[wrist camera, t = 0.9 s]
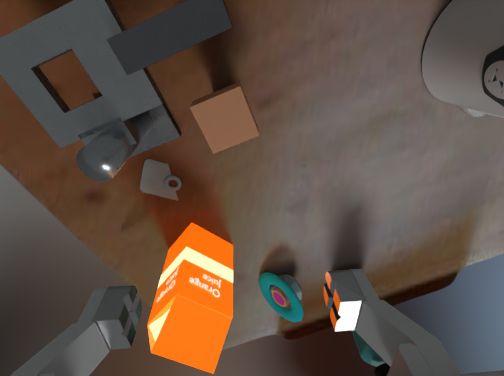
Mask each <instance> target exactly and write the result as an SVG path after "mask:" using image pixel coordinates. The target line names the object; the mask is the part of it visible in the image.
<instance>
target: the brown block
mask: <svg viewBox="0 0 504 376" xmlns="http://www.w3.org/2000/svg"><path fill="white" fill-rule="evenodd" d="M190 109H191V111H192V113H193V115H194V117H195V119H196V121H197V123H198V125H199V127H200V128H201V130H202V132H203V134H204V136H205V138H206V140H207V142H208V144H209V146H210V148H211V150H212V152H213V154H214V153H217V152H219V151H222V150H224V149H227V148H229V147H232V146H234V145H237V144H239V143H242V142H245V141H247V140H250V139H252V138H255V137H257V136H260V134H259V130H258V126H257V124H256V121H255V119H254V116H253V114H252V111H251V109H250V106H249V104H248V101H247V99H246V96H245V94H244V91H243V89H242V86H241V83H240V81H239V82H237V83H235V84H232V85H230V86H228V87H225V88H223V89H221V90H218V91H216V92H213V93H211V94H209V95H206V96H204V97H202V98H199V99H197V100H195V101H193V102H192V104H191V106H190Z"/></svg>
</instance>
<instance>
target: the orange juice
mask: <svg viewBox="0 0 504 376" xmlns="http://www.w3.org/2000/svg"><path fill="white" fill-rule="evenodd" d="M232 319H233V245H232V244H230V243H228V242H227V241H225V240H223V239H221V238H219V237H218V236H216V235H214V234H212V233H210V232H209V231H207V230H205V229H203V228H201V227H199V226H198V225H196V224H194V223H191V224H190V225H189V226H188V227H187V228H186V230H185V231H184V232H183V233H182V234H181V236H180V237H179V238H178V239H177V240H176V242H175V243H174V244H173V245H172V246H171V247H170V249H169V251H168V254H167V258H166V261H165V265H164V268H163V272H162V275H161V278H160V281H159V285H158V289H157V293H156V296H155V300H154V303H153V307H152V311H151V314H150V318H149V321H148V332H149V339H150V348H151V353H154V354H157V355H160V356H163V357H165V358H169V359H171V360H174V361H177V362H180V363H183V364H186V365H189V366H192V367H195V368H198V369H201V370H204V371H207V372H210V373H213V374H214V371H215V368H216V365H217V362H218V359H219V355H220V352H221V350H222V347H223V344H224V341H225V338H226V335H227V332H228V329H229V326H230V323H231V320H232Z"/></svg>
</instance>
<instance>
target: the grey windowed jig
mask: <svg viewBox="0 0 504 376" xmlns="http://www.w3.org/2000/svg"><path fill="white" fill-rule="evenodd" d="M232 27H233V25H232V22H231V20H230V17H229V14H228V11H227V9H226V6H225V3H224V1H223V0H187V1H185V2H183V3H181V4H178V5H176V6H174V7H172V8H170V9H168V10H166V11H164V12H162V13H160V14H158V15H156V16H154V17H152V18H150V19H148V20H146V21H143V22H141V23H139V24H137V25H135V26H133V27H131V28H129V29H127V30H126V29H125V27H124V25H123V24H122V22H121V20H120V18H119V16H118V15H117V13H116V11H115V9H114V7H113V5H112V4H111V2H110V0H73V1H71V2H69V3H67V4H65V5H63V6H61V7H59V8H58V9H56V10H54V11H52V12H50V13H48V14H46V15H44V16H42V17H40V18H38V19H36V20H34V21H32V22H31V23H29V24H27V25H25V26H23V27H21V28H19V29H17V30H15V31H13V32H11V33H9V34H7V35H6V36H4V37H2V38H0V75H1V76H2V77H3V78H4V79H5V81H6V82H7V83H8V84H9V86H10V87H11V88H12V89H13V91H14V92H15V93H16V94H17V95H18V97H19V98H20V99H21V100H22V102H23V103H24V104H25V105H26V107H27V108H28V109H29V110H30V111H31V113H32V114H33V115H34V116H35V118H36V119H37V120H38V121H39V122H40V124H41V125H42V126H43V127H44V129H45V130H46V131H47V132H48V134H49V135H50V136H51V137H52V138H53V140H54V141H55V142H56V143H57V145H58V146H59V147H60V148H62V147H65V146H67V145H69V144H72V143H74V142H76V141H78V140H81V141H82V142H83V143H84V144H85V147H84V148H83V149H81V150H80V151H79V153H78V155H77V164H78V167H79V168H80V170H81V171H82V172H83V173H84V174H85V175H86V176H88V177H89V178H91V179H94V180H97V181H107V180H110V179H112V178H113V177H114V176H115V175H116V174H117V173H118V171H119V170H120V169H121V167H122V166H123V165H124V163H125V162H126V161H127V160H128V158H129V157H132V156H135V155H137V154H140V153H142V152H144V151H147V150H149V149H152V148H154V147H157V146H159V145H161V144H164V143H166V142H169V141H171V140H174V139H176V138H179V137H180V136H181V133H180V131H179V129H178V127H177V125H176V124H175V122H174V120H173V118H172V116H171V115H170V113H169V111H168V109H167V107H166V106H165V104H164V102H165V100H164V98H163V97H162V95H161V93H160V91H159V89H158V87H157V86H156V84H155V82H154V80H153V78H152V76H151V75H150V73H149V71H148V69H147V66H150V65H152V64H154V63H156V62H158V61H160V60H163V59H165V58H167V57H169V56H171V55H173V54H176V53H178V52H180V51H182V50H184V49H187V48H189V47H191V46H193V45H195V44H197V43H200V42H202V41H204V40H206V39H208V38H211V37H213V36H215V35H217V34H219V33H221V32H224V31H226V30H228V29H230V28H232ZM71 50H73V51H74V53H75V55H76V56H77V58H78V59H79V61H80V62H81V64H82V65H83V67H84V68H85V70H86V71H87V73H88V74H89V76H90V77H91V79H92V80H93V82H94V83H95V85H96V86H97V88H98V89H99V91H100V93H101V94H102V96H100V97H98V98H96V99H94V100H91V101H89V102H87V103H85V104H83V105H80V106H78V107H76V108H74V109H71V110H70V109H69V107H68V106H67V105H66V103H65V102H64V101H63V99H62V98H61V97H60V95H59V94H58V92H57V91H56V90H55V88H54V87H53V86H52V84H51V83H50V82H49V80H48V79H47V78H46V76H45V75H44V73H43V72H42V71H41V69H40V68H39V67H38V66H40V65H42V64H44V63H46V62H49V61H51V60H53V59H55V58H57V57H59V56H61V55H63V54H65V53H67V52H69V51H71Z"/></svg>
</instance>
